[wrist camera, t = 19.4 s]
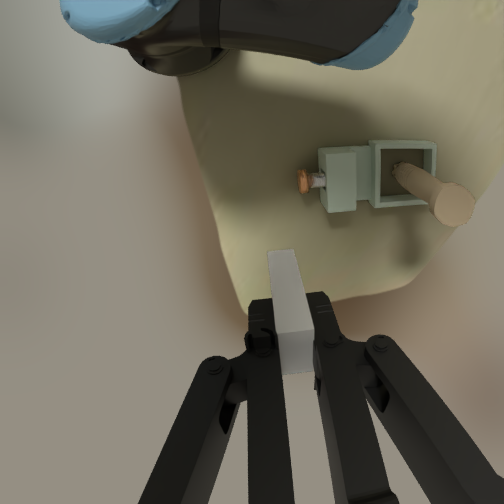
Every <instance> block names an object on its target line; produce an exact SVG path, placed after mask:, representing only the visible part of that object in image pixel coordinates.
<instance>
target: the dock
mask: <svg viewBox="0 0 504 504" xmlns="http://www.w3.org/2000/svg"><path fill="white" fill-rule="evenodd" d="M368 144H369V146H344V147H325V148H318V162H319V173H320V172H325V184H326V187H320V201H321V203H322V204H323V206H324V207H325V209H326V211H327V212H328V213H334V212H344V211H355V210H356V200H368V199H369V203H370V204H371V205H372V206H373V207H374V208H382V207H395V206H408V205H421V204H428V203H426V202H425V201H423V200H421V199H420V198H418V197H416V196H415V195H413V194H407V195H391V196H380V179H381V149H424V159H423V170H425V171H427V172H428V173H430V174H431V175H432V176H434V177H435V173H436V153H437V144H435V143H433V142H430V141H419V140H368Z"/></svg>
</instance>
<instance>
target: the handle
mask: <svg viewBox="0 0 504 504" xmlns="http://www.w3.org/2000/svg"><path fill="white" fill-rule="evenodd" d="M393 167H394V169H393V172H392V175H393V176H394V177H395V178H396V180H397V181H398V182H399V184H400V185H401V186H402V187H404V188H405V189H406V190H407V191H409V192H410V193H411V194H413V195H415V196H416V197H418V198H420V199H421V200H423V201H425V202H426V203H428V204H430V205H429V207H430V212H431V213H432V214H433V215H434V216H435V218H436V219H438V220H439V221H440V222H441V223H442V224H444V225H447V226H452V227H457V226H460V225H463V224H466V223H467V222H468V220H469V219H470V218H471V216H472V213H473V210H474V206H475V198H474V197H473V195H472V194H471V193H470V191H469V190H468V189H466V188H465V187H463V186H461V185H459V184H456V183H453V182H448V183H443V182H441V181H440V180H438V179H437V178H435V177H434V176H432V175H431V174H430V173H428V172H427V171H425V170H423V169H421V168H419V167H417V166H415V165H412V164H408V163H406V162H400V163H399V164H395V165H394V166H393Z"/></svg>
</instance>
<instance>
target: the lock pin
mask: <svg viewBox="0 0 504 504" xmlns="http://www.w3.org/2000/svg"><path fill="white" fill-rule="evenodd" d="M297 180H298V187H299V192H300V193H308V192H309V188H317V187H326V184H325V172H320V173H308V174H307V171H306V169H303V170H298V171H297Z"/></svg>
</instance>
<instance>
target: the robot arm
mask: <svg viewBox="0 0 504 504" xmlns="http://www.w3.org/2000/svg"><path fill="white" fill-rule="evenodd" d="M60 7H61V12H62V15H63V17H64V19H65V20H66V22H67V23H68V24H69V25H70V27H71V28H72V29H74V30H75V31H76V32H78V33H80V34H82V35H84V36H85V37H87V38H88V39H90V40H92V41H95V42H97V43H105V44H110V45H114V46H118V47H121V48H124V49H127V50H128V51H129V53H130V55H131V56H132V58H133V59H134V60H135V61H136V62H137V63H138V64H139V65H141V66H142V67H144V68H145V69H147V70H149V71H152V72H155V73H158V74H162V75H167V76H185V75H191V74H194V73H198V72H200V71H203V70H205V69H207V68H209V67H211V66H212V65H214V64H215V63H217V62H218V61H219V60H220V59H221V58H222V57H223V56H224V55H225V54H226V53H227V52H228V51H229V49H236V50H245V51H253V52H261V53H268V54H274V55H281V56H286V57H292V58H297V59H302V60H307V61H310V62H312V63H314V64H317V65H324V66H330V65H332V66H337V67H342V68H346V69H350V70H364V69H369V68H372V67H374V66H376V65H378V64H380V63H382V62H383V61H384V60H386V59H387V58H388V57H389V56H390V55H392V54H393V53H394V51H395V50H396V49H397V48H398V47H399V46H400V44H401V43H402V42H403V40H404V39H405V37H406V35H407V34H408V32H409V30H410V28H411V26H412V23H413V21H414V17H413V16H412V12H413V11H414V10H415V9H416V8H417V7H418V0H60ZM267 256H268V265H269V274H270V283H271V292H272V298H268V299H259V300H252V302H251V304H250V305H249V307H248V315H249V316H248V320H249V323H248V326H249V327H248V330H249V331H248V332H247V333H246V334H245V338H244V340H245V345H246V351H245V352H244V353H243V354H241V355H240V356H238V357H235V358H233V359H229V360H227V359H226V358H225V357H221V356H212V357H209V358H207V359H205V360H204V361H202V363H201V364H200V366H199V368H198V370H197V372H196V374H195V377H194V379H193V381H192V383H191V386H190V388H189V390H188V393H187V395H186V397H185V399H184V401H183V404H182V406H181V408H180V410H179V413H178V415H177V417H176V419H175V421H174V424H173V426H172V428H171V430H170V433H169V435H168V437H167V440H166V442H165V444H164V446H163V448H162V451H161V453H160V455H159V457H158V460H157V462H156V464H155V466H154V469H153V471H152V473H151V475H150V478H149V480H148V482H147V484H146V487H145V489H144V491H143V493H142V496H141V498H140V500H139V502H138V504H208V501H209V498H210V495H211V493H212V490H213V487H214V483H215V481H216V478H217V475H218V472H219V469H220V466H221V463H222V459H223V457H224V453H225V450H226V447H227V444H228V441H229V438H230V435H231V432H232V428H233V425H234V422H235V419H236V416H237V412H238V409H239V406H240V402H243V401H246V400H247V414H248V415H247V416H248V417H247V419H248V495H249V496H248V498H249V499H248V502H249V504H295V501H294V491H293V479H292V468H291V458H290V447H289V437H288V429H287V428H288V427H287V419H286V408H285V399H284V389H283V380H282V375H286V374H294V373H302V372H309V371H313V367H314V371H315V384H314V390H317V395H318V401H319V407H320V412H321V417H322V424H323V429H324V435H325V441H326V447H327V453H328V459H329V465H330V471H331V478H332V485H333V492H334V498H335V504H399V501H398V498H397V497H396V495H395V494H394V493H393V492H392V491H391V489H390V487H389V483H388V478H387V474H386V470H385V466H384V462H383V459H382V455H381V451H380V447H379V443H378V439H377V436H376V433H375V428H374V425H373V421H372V418H371V414H370V411H369V408H368V404H367V401H368V402H369V404H370V406H371V407H372V409H373V410H374V412H375V413H376V415H377V417H378V418H379V420H380V421H381V423H382V425H383V426H384V428H385V429H386V431H387V432H388V434H389V436H390V437H391V439H392V441H393V442H394V444H395V445H396V447H397V449H398V450H399V452H400V453H401V455H402V457H403V458H404V460H405V461H406V463H407V465H408V466H409V468H410V470H411V471H412V473H413V475H414V476H415V478H416V480H417V481H418V483H419V484H420V486H421V488H422V489H423V491H424V493H425V494H426V496H427V498H428V499H429V501H430V503H431V504H504V478H502V477H500V476H499V475H497V474H496V472H495V471H494V469H493V468H492V467H491V465H490V464H489V462H488V461H487V459H486V458H485V456H484V455H483V454H482V452H481V451H480V450H479V448H478V447H477V445H476V444H475V443H474V441H473V440H472V439H471V437H470V436H469V434H468V433H467V432H466V430H465V429H464V428H463V427H462V425H461V424H460V423H459V421H458V420H457V418H456V417H455V416H454V414H453V413H452V412H451V411H450V409H449V408H448V407H447V405H446V404H445V403H444V402H443V400H442V399H441V398H440V397H439V395H438V394H437V393H436V391H435V390H434V389H433V388H432V386H431V385H430V384H429V383H428V382H427V380H426V379H425V378H424V376H423V375H422V374H421V373H420V371H419V370H418V369H417V368H416V367H415V365H414V364H413V363H412V362H411V360H410V359H409V358H408V357H407V356H406V355H405V353H404V352H403V351H402V350H401V349H400V347H399V346H398V345H397V344H396V342H395V341H394V340H393V339H391V338H390V337H388V336H386V335H374V336H372V337H370V338H369V339H368V340H367V342H356V341H352V340H349V339H347V338H346V337H345V336H344V335H343V334H342V333H341V332H340V329H339V326H338V323H337V320H336V317H335V314H334V311H333V308H332V306H331V302H330V300H329V297H328V296H327V295H326V294H325V293H324V292H323V291H321V292H313V293H305V290H304V287H303V283H302V279H301V275H300V272H299V268H298V264H297V261H296V257H295V253H294V250H293V249H286V250H277V251H268V252H267ZM366 399H367V401H366Z"/></svg>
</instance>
